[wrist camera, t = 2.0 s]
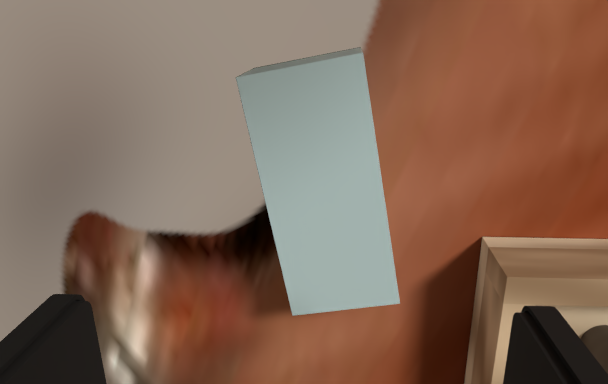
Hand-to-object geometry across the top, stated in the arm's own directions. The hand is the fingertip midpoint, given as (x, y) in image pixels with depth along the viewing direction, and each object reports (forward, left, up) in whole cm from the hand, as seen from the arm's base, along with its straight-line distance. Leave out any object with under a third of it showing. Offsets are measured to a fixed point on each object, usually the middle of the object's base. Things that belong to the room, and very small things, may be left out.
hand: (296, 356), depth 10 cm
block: (-1, 0, -12) cm, 12 cm away
